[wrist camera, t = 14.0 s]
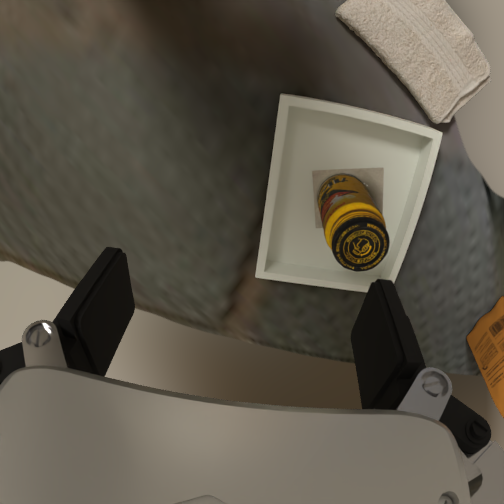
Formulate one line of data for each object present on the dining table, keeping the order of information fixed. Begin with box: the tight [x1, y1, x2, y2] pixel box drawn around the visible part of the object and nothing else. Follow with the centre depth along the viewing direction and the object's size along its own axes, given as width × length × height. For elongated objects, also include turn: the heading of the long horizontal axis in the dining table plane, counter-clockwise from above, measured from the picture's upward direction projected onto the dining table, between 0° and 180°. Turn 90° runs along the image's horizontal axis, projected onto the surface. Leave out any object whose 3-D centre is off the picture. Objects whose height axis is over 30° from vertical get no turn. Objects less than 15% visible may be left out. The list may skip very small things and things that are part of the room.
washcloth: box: [335, 0, 491, 124], centre depth 26 cm, size 12×18×3 cm, turn 49°
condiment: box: [312, 168, 390, 272], centre depth 32 cm, size 7×8×12 cm
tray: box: [255, 93, 443, 292], centre depth 36 cm, size 22×18×4 cm
